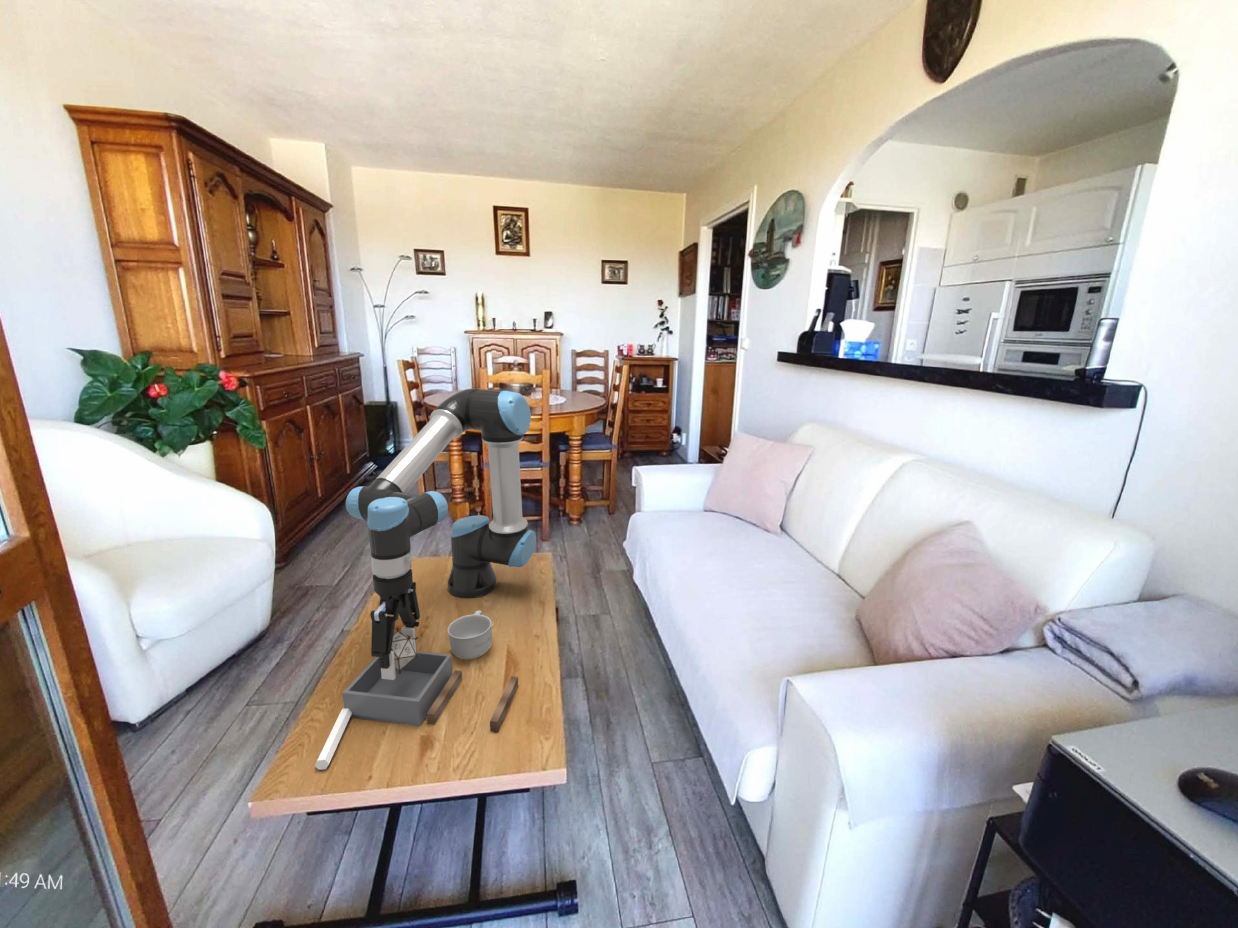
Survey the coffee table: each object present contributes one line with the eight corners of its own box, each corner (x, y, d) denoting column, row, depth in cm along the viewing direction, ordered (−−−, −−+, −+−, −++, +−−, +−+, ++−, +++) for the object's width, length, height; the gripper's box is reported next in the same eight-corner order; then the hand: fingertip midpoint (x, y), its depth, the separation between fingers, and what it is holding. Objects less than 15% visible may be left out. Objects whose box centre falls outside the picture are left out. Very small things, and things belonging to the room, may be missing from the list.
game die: (397, 676, 110) (394, 630, 113) (429, 668, 108) (426, 622, 112) (367, 681, 102) (366, 631, 105) (403, 672, 100) (400, 623, 104)
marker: (352, 709, 106) (324, 771, 90) (342, 706, 105) (313, 768, 90) (358, 700, 105) (331, 760, 90) (348, 696, 105) (319, 756, 90)
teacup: (480, 668, 120) (479, 640, 118) (440, 661, 122) (438, 633, 120) (504, 636, 133) (504, 610, 131) (467, 630, 135) (466, 604, 133)
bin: (386, 669, 118) (384, 647, 117) (452, 676, 116) (451, 654, 115) (345, 716, 103) (342, 692, 101) (420, 725, 101) (418, 701, 100)
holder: (455, 679, 116) (455, 669, 115) (518, 685, 114) (518, 676, 114) (427, 723, 102) (426, 713, 102) (497, 732, 101) (497, 721, 100)
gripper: (381, 597, 92) (389, 700, 97) (433, 552, 112) (437, 639, 117) (343, 594, 92) (354, 696, 98) (401, 549, 113) (407, 636, 118)
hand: (399, 665), depth 108 cm, fingers closed on game die, 8 cm apart
